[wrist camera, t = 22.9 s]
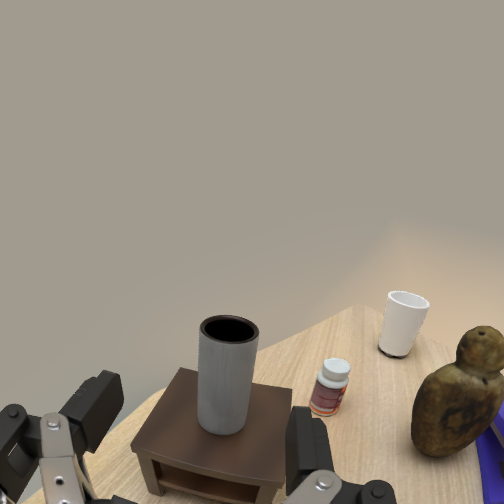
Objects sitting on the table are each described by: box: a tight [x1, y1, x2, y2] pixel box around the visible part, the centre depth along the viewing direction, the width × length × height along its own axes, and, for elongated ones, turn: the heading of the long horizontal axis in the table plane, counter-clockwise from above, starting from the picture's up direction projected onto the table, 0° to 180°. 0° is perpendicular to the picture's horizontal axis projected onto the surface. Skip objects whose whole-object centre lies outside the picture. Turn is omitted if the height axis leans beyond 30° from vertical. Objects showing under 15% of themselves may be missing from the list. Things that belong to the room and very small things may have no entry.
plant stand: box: [130, 367, 292, 504], centre depth 25 cm, size 13×13×10 cm
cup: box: [378, 291, 430, 358], centre depth 55 cm, size 10×10×13 cm
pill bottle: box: [309, 358, 351, 416], centre depth 38 cm, size 5×5×8 cm
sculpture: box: [411, 326, 504, 457], centre depth 26 cm, size 13×8×20 cm, turn 55°
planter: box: [197, 315, 259, 435], centre depth 23 cm, size 4×4×10 cm
